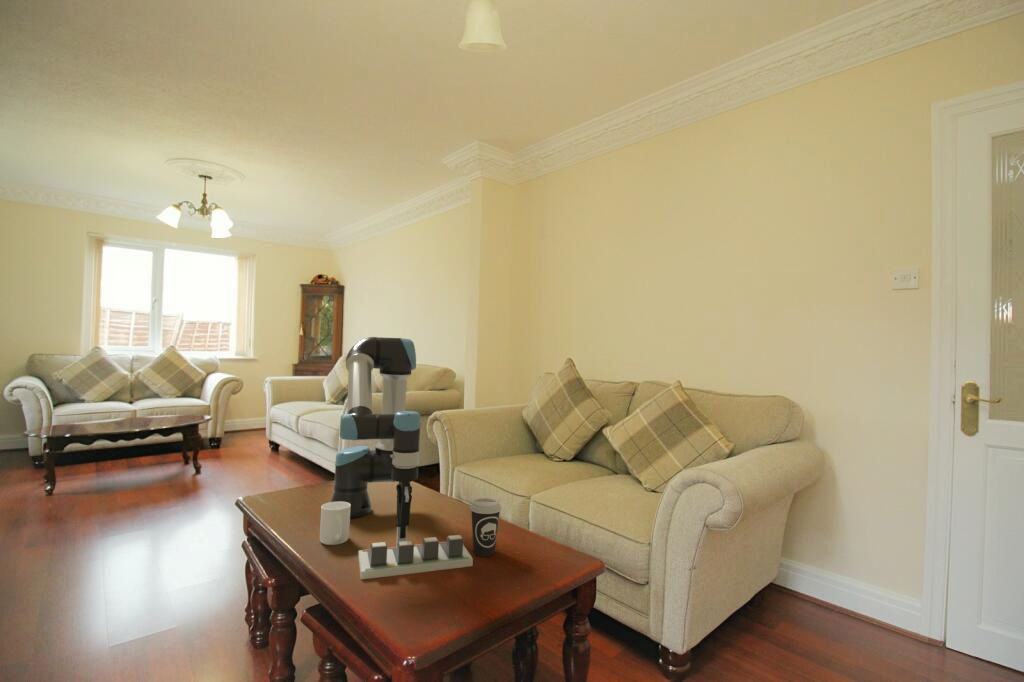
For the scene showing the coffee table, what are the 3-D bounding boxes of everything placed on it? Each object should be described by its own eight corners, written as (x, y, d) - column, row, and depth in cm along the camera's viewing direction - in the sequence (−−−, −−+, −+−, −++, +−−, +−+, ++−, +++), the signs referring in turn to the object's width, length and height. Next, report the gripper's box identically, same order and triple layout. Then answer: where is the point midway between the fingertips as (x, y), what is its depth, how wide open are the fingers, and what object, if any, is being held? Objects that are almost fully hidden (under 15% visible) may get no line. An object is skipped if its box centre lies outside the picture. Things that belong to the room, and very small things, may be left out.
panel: (358, 557, 137) (358, 549, 137) (460, 546, 147) (460, 539, 147) (361, 579, 123) (361, 570, 124) (472, 566, 134) (472, 558, 134)
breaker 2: (396, 559, 131) (397, 541, 131) (411, 557, 132) (412, 540, 132) (398, 563, 128) (399, 545, 128) (413, 561, 129) (413, 544, 130)
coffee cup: (504, 548, 147) (506, 499, 148) (492, 560, 138) (495, 508, 139) (475, 543, 150) (477, 495, 151) (462, 555, 141) (465, 503, 142)
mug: (325, 551, 140) (327, 514, 140) (316, 538, 150) (318, 503, 150) (355, 546, 144) (356, 510, 145) (344, 533, 154) (346, 500, 155)
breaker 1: (370, 560, 129) (370, 542, 129) (385, 559, 131) (386, 541, 131) (370, 565, 126) (371, 547, 126) (386, 563, 128) (387, 545, 128)
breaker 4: (446, 552, 137) (447, 535, 137) (459, 551, 138) (460, 534, 138) (448, 556, 134) (449, 539, 134) (462, 555, 135) (463, 538, 135)
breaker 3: (421, 555, 134) (422, 538, 134) (435, 553, 135) (436, 536, 136) (423, 559, 131) (424, 542, 131) (438, 557, 133) (438, 540, 133)
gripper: (389, 460, 143) (385, 540, 142) (394, 471, 131) (390, 558, 130) (414, 459, 145) (410, 538, 145) (422, 470, 133) (418, 555, 133)
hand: (401, 547), depth 137 cm, fingers closed
